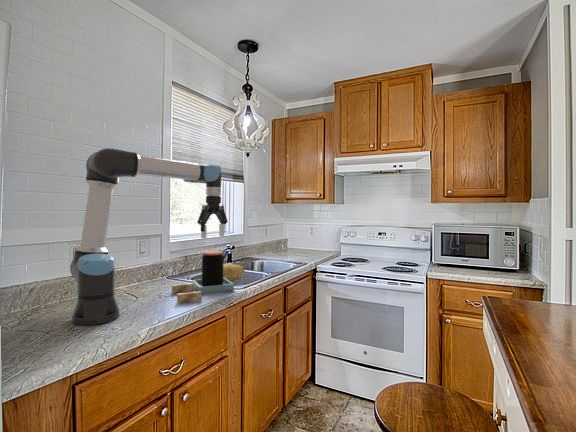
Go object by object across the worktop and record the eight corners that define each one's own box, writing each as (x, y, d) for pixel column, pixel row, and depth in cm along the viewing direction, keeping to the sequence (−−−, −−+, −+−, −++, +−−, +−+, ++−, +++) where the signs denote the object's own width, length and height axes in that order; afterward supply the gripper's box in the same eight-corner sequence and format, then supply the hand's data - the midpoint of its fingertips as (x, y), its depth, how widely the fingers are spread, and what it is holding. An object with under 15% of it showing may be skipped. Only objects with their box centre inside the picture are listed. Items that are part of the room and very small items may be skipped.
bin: (199, 294, 155) (199, 287, 155) (192, 286, 170) (192, 280, 170) (233, 290, 162) (233, 284, 162) (224, 283, 178) (224, 277, 177)
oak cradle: (177, 303, 140) (178, 294, 140) (171, 293, 157) (171, 284, 156) (201, 301, 144) (201, 292, 144) (192, 290, 161) (193, 283, 161)
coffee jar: (219, 283, 173) (220, 250, 173) (225, 288, 164) (226, 252, 163) (199, 285, 168) (200, 251, 168) (204, 290, 159) (205, 253, 158)
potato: (222, 277, 191) (222, 262, 191) (245, 279, 188) (246, 263, 188) (215, 281, 182) (215, 264, 181) (239, 283, 178) (239, 266, 178)
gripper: (202, 194, 152) (201, 239, 153) (234, 196, 174) (233, 235, 175) (190, 194, 155) (189, 238, 156) (223, 196, 178) (222, 235, 178)
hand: (213, 237), depth 165 cm, fingers open, 13 cm apart
